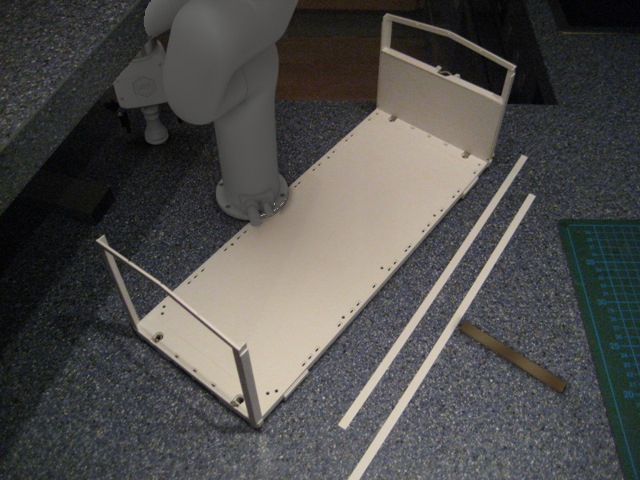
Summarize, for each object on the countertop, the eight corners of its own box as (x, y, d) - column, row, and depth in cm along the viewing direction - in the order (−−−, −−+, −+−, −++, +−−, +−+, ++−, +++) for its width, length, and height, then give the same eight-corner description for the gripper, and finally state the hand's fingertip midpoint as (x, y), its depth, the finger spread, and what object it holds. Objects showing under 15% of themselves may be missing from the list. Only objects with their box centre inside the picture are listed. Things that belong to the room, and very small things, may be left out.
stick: (565, 385, 86) (567, 383, 85) (560, 393, 85) (561, 391, 84) (464, 322, 92) (465, 320, 92) (458, 330, 91) (459, 327, 91)
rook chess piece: (166, 146, 117) (158, 112, 111) (143, 145, 117) (133, 111, 111) (171, 131, 120) (163, 96, 114) (148, 130, 120) (139, 96, 114)
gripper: (81, 62, 99) (108, 145, 112) (189, 45, 102) (203, 127, 115) (78, 37, 104) (105, 120, 117) (182, 22, 107) (197, 103, 120)
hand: (154, 123), depth 116 cm, fingers open, 9 cm apart
